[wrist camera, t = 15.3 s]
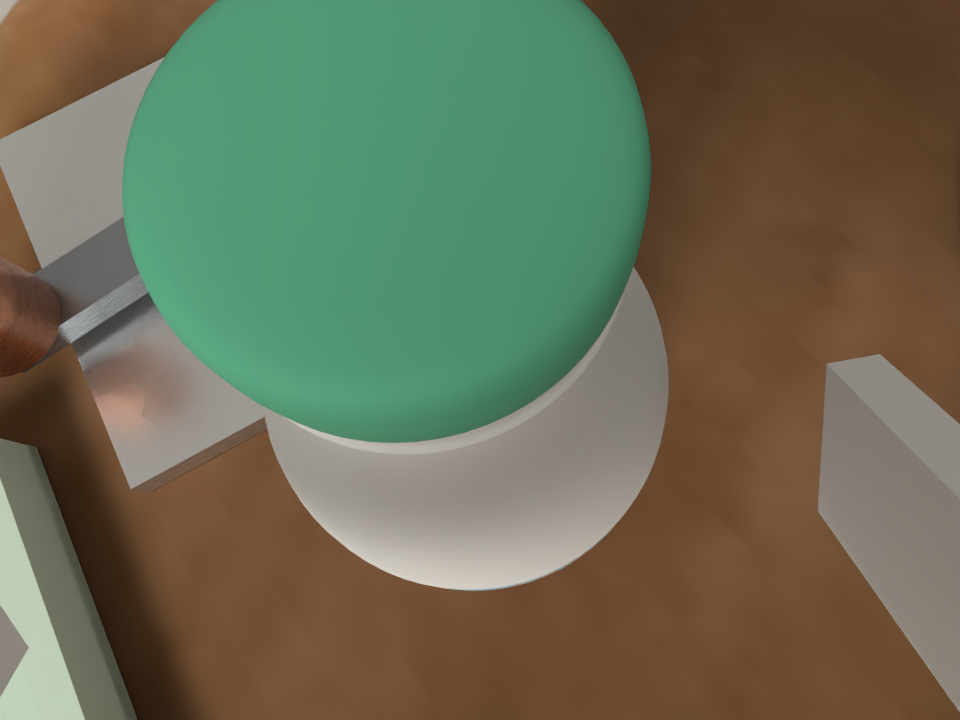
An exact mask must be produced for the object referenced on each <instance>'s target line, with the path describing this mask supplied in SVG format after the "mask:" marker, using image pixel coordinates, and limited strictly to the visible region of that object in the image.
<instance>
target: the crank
mask: <svg viewBox="0 0 960 720" xmlns="http://www.w3.org/2000/svg"><path fill="white" fill-rule="evenodd" d="M147 293H148V290H147V288H146V286H145V284H144V282H143V280H142V277H141V275H140V273H139V271H138V269H137V266H136V264H135V261H134V258H133V255H132V252H131V249H130V246H129V241H128V237H127V232H126V228H125V223H124V217H122V218H121V219H119V220H118V221H116V222H114V223H113V224H111V225H110V226H108V227H107V228H105V229H103V230H102V231H100V232H99V233H97V234H96V235H94V236H92V237H91V238H89V239H88V240H86V241H85V242H83V243H82V244H80V245H78V246H77V247H75V248H74V249H72V250H71V251H69V252H67V253H66V254H64V255H63V256H61V257H60V258H58V259H56V260H55V261H53V262H52V263H50V264H49V265H47V266H46V267H44V268H42V269H41V270H39V271H38V272H36V273H35V274H31V273H30V272H28V271H26V270H24V269H23V268H21V267H19V266H17V265H16V264H14V263H12V262H11V261H9V260H7V259H5V258H4V257H2V256H0V377H5V376H11V375H14V374H18V373H20V372H23V373H26V372H27V371H29V370H30V369H32V368H33V367H35V366H36V365H38V364H39V363H41V362H42V361H44V360H46V359H47V358H49V357H50V356H52V355H53V354H55V353H56V352H58V351H59V350H61V349H62V348H64V347H65V346H67V345H69V344H70V343H72V342H73V341H75V340H76V339H78V338H79V337H81V336H82V335H84V334H85V333H87V332H88V331H90V330H92V329H93V328H95V327H96V326H98V325H99V324H101V323H102V322H104V321H105V320H107V319H108V318H110V317H111V316H113V315H115V314H116V313H118V312H119V311H121V310H122V309H124V308H125V307H127V306H128V305H130V304H131V303H133V302H134V301H136V300H138V299H139V298H141V297H142V296H144V295H145V294H147Z"/></svg>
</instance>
